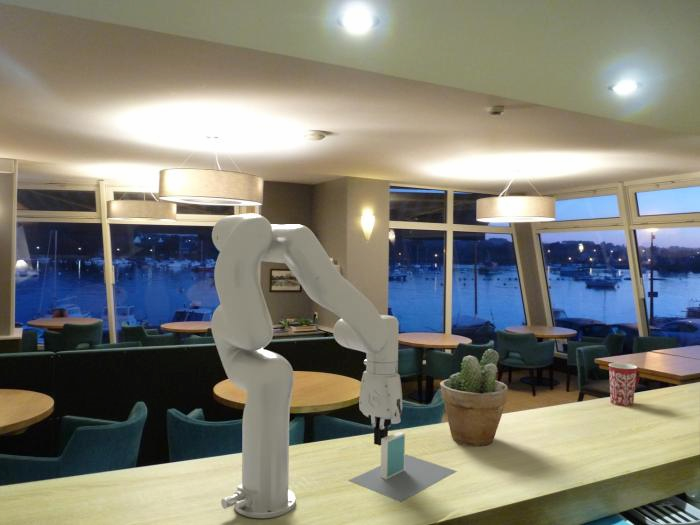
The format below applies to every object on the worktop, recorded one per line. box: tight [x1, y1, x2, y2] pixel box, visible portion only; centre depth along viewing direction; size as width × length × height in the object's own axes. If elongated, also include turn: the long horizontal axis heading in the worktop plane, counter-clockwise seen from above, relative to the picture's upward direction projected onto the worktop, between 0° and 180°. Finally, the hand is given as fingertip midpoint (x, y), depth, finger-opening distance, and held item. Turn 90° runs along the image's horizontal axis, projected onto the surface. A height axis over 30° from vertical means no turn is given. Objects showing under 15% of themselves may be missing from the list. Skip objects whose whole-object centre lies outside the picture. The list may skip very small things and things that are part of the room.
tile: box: [380, 431, 406, 479], centre depth 128 cm, size 7×2×9 cm, turn 138°
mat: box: [348, 454, 457, 503], centre depth 127 cm, size 22×15×1 cm
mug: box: [608, 362, 640, 407], centre depth 193 cm, size 13×9×14 cm
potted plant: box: [439, 348, 509, 447], centre depth 153 cm, size 18×19×25 cm
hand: (380, 443), depth 131 cm, fingers closed
